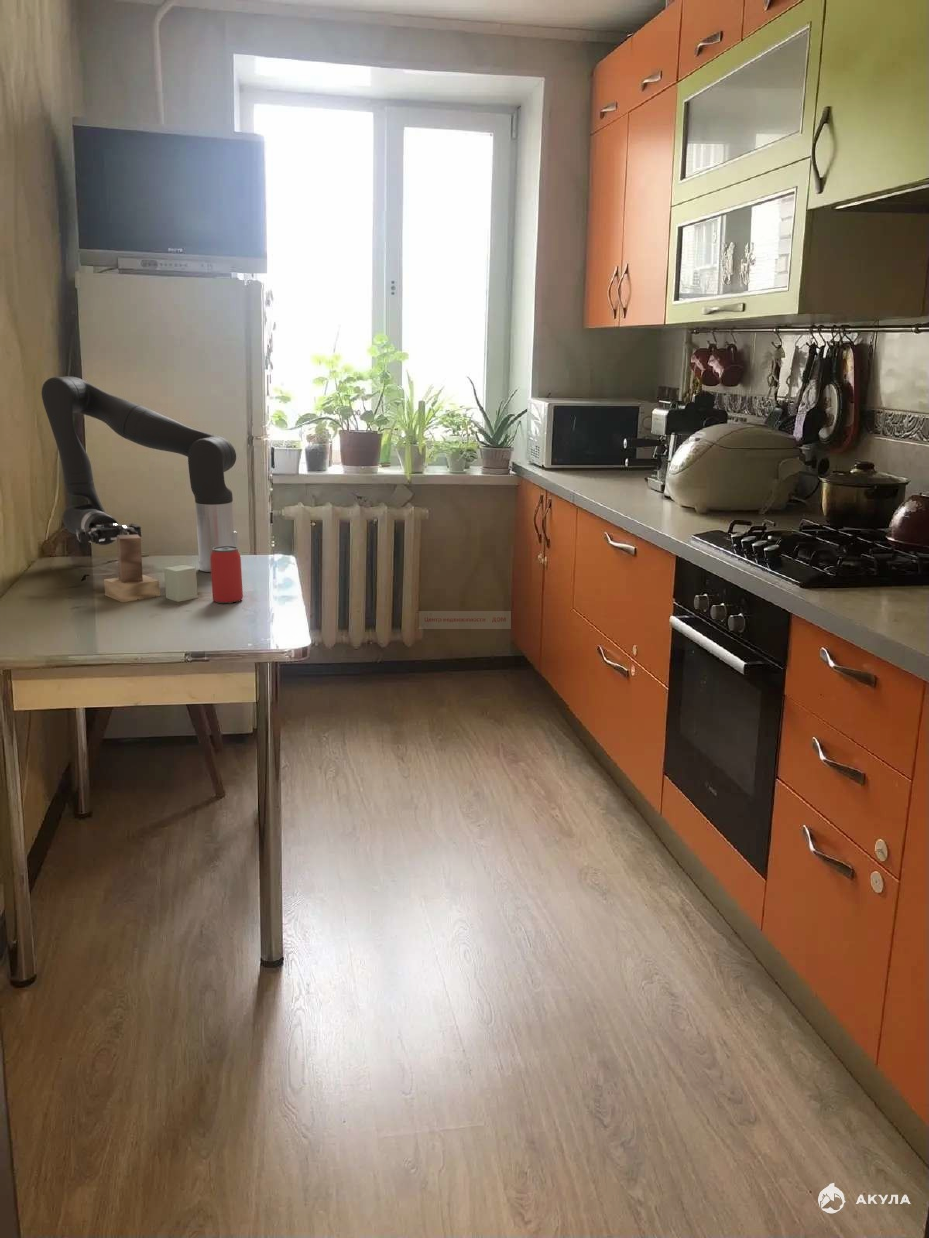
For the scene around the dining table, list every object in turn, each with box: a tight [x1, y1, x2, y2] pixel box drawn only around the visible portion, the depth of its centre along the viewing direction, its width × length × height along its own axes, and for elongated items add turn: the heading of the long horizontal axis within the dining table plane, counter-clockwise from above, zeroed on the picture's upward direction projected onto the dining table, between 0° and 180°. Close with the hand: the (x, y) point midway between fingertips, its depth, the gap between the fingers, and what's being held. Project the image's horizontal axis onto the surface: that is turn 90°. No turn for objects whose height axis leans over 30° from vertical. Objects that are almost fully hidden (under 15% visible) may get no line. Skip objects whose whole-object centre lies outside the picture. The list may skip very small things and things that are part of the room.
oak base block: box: [103, 573, 161, 603], centre depth 229 cm, size 9×9×4 cm
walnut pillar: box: [116, 534, 144, 583], centre depth 228 cm, size 4×4×10 cm
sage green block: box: [163, 564, 198, 603], centre depth 227 cm, size 5×5×7 cm
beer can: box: [210, 546, 244, 604], centre depth 224 cm, size 7×7×12 cm
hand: (116, 537), depth 236 cm, fingers open, 8 cm apart
